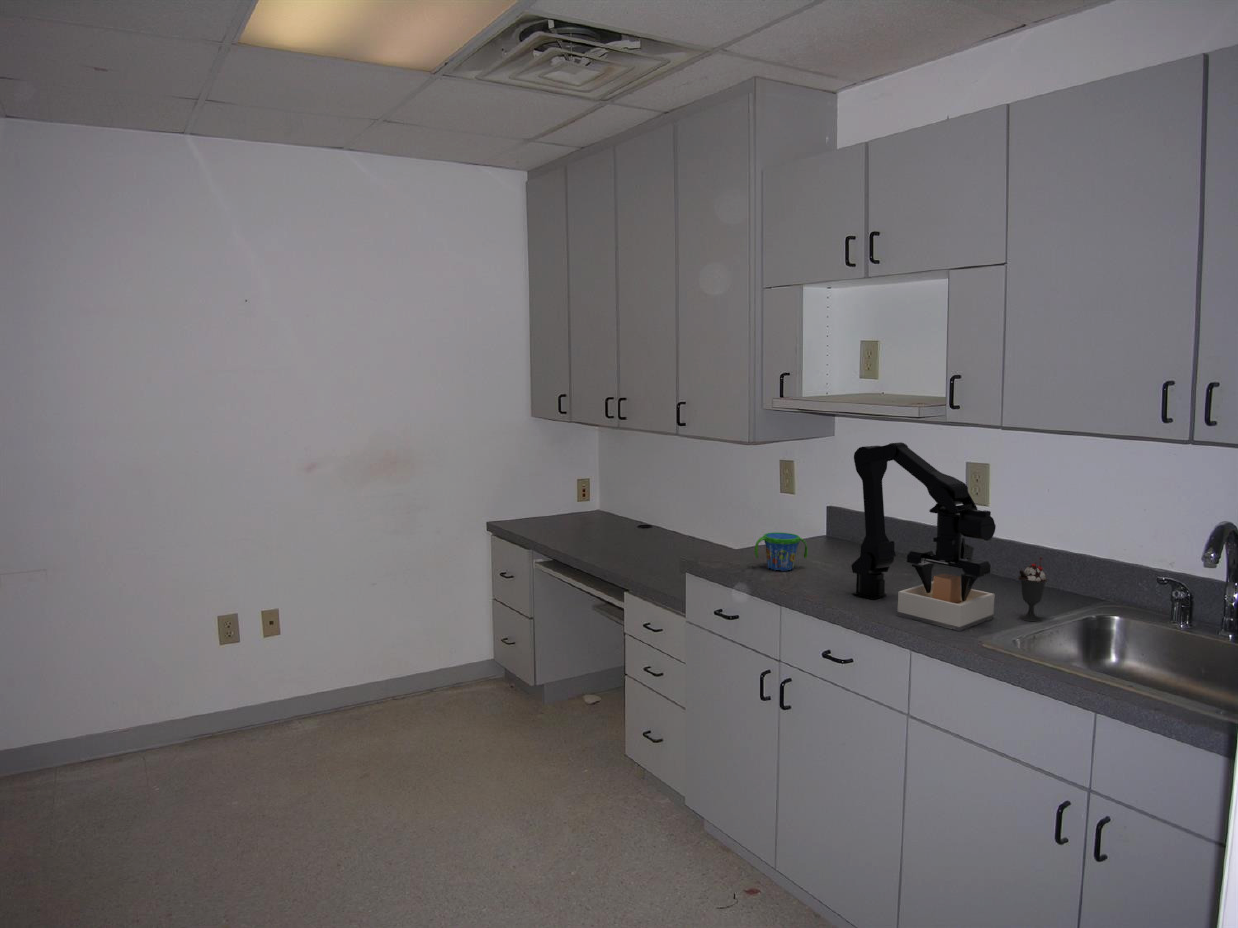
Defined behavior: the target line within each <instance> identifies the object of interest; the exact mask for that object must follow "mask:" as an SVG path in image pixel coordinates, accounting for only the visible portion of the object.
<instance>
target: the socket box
mask: <svg viewBox="0 0 1238 928" xmlns="http://www.w3.org/2000/svg"><path fill="white" fill-rule="evenodd" d="M995 596H996V595H995V593H991V592H987V591H983V590H978V589H972V588H971V590H970V592H969V595H968V597H967V599H966V601H962V596H961V586H960V603H958V604H956V603H952V602H947V601H943V600H938V599H934V598H933V581H932V580H931V592H930V593H927V592H926V590H925V587H924V585H923V583H922V584H918V585H916V586H913V587H909V588H906V589H903V590H902V589H901V590H900V591H899V590H898V594H897V597H898V598H897V600H898V601H897V613H896V614H897V615H900V616H899V617H901V616H903V617H902V618H905V619H909V620H913V619H915V620H914V621H917V620H918V621H917V622H921V621H922V622H921V623H925V624H929V625H933V624H934V625H933V626H937V627H940V626H941V628H945V629H948V630H952V629H954V630H953V631H957V632H962V631H964V630H966V629H968V628H972V627H974V626H977V625H979V624H981V623H984V621H985V622H987V621H990V620H992V619H994V613H995ZM989 619H990V620H989ZM986 620H987V621H986ZM976 624H977V625H976ZM973 625H974V626H973ZM971 626H972V627H971ZM963 629H964V630H963Z"/></svg>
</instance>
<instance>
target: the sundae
mask: <svg viewBox="0 0 1238 928" xmlns="http://www.w3.org/2000/svg"><path fill="white" fill-rule="evenodd" d="M1043 559H1044V558H1043V557H1039V559H1038V561H1039V563H1041V562H1042V560H1043ZM1038 561H1036V562H1035V563H1031V564H1030V566H1027V567H1026V568H1025V569H1024V570H1023V569H1020V570H1019V571H1018V572H1019V575H1018V576H1017V578H1018V580H1019V581H1020V584H1021V593H1022V594H1021V595H1022V599H1023V601H1024V602H1025V603H1026V604H1027V606H1028V609H1027V610H1028V611H1027V613H1026V614H1025V615H1024V614H1023V615H1020V616H1019V619H1020V620H1022V621H1024V622H1025V621H1026V622H1031V623H1032V622H1033V623H1037V622H1036V621H1040V622H1042V621H1041V619H1042V618H1041V617H1040V616H1037V615H1036V614H1035V610H1034V609H1035V605H1038V604H1039V603H1040V602H1041V601H1042V597H1043V594H1044V589H1045V585H1046V582H1048V581H1049V579H1048V578H1046V577H1047V576H1046V574H1045V572H1044V571H1043V567H1042V565H1041V564H1039V566H1037V564H1038Z"/></svg>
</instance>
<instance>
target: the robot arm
mask: <svg viewBox="0 0 1238 928" xmlns="http://www.w3.org/2000/svg"><path fill="white" fill-rule="evenodd" d="M890 461H891V462H892V461H894V462H895V463H896V464H898V466H900V467H901V468H903V469H904V470H906V471H907V472H908V473H909V474H910V475H911V476H913V477H914V478H915V479H917V480H918V481H919V482H920V483H921V484H923V485H924V486H925V488H926V489H927V493H928V495H929V496H930V497H931V498H932V499H933V500H934V501H935V502H936V504H935V505H934V506H933V507H931V508H930V509H929V512H930V513H932V514H937V515H936V516H937V517H936V518H937V519H936V535H935V536H933V541H932V542H934V543H935V553H934V552H933V551H932V550H929V549H923V548H917V549H913V550H910V551H909V552H908V553H907V557H906V562H907V563H909V564H911V567H913V568H914V569H915V570H916V572H917V574H918V576H919V578H920V580H921V583H922V584H923V585H924V587H925V590H926V592H927V593H930V592H931V582H932V575H933V574H932V571H933V568H934V566H935V564H938V565H942V566H949V567H953V568H957V569H962V571H963V574H960V577H961V584H960V587H961V596H962V601H966V599H967V597H968V595H969V592H970V590H971V589H972V588H973V585H974V584H975V582H976V581H977V579H979V578H981V577H984V575H987V574H990V573H991V567H992V566H991V564H990V563H989V561H988V560H984V559H977V558H973V555H974V551H975V547H974V546H971V545H969V544H966V538H972V539H977V540H980V541H990V540H991V539H992V538H993V536H994V534H995V533H996V523H995V520H994V518H993V517H992V516H991V511H990V510H981V509H978V507H977V505H976V503H975V502H974V500H973V498H972V496H971V494H970V493H969V487H968V485H967V484H966V483H965V482H963V481H962V480H960V479H958V478H956V477H954V476H951V475H948V474H945V473H943V472H940V471H939V470H938V469H936V468H935V467H934V466H933V465H931V464H930V463H929V462H928V461H926V460H925V459H924V458H922V457H921V456H920V455H919V454H917V453H916V452H914V450H912V449H910V447H908V445H907V444H906V443H904V442H902V441H901V442H891V443H888V444H886V445H868V446H866V445H865V446H860V447H859V448H857V449H856V451H855V452H854V454H853V462H854V467H855V471H856V473H857V474H858V476H859V477H860V479H861V481H862V495H863V496H862V497H863V510H864V511H863V512H864V513H863V514H864V528H865V536H864V538H863V541H862V543H861V545H860V551H859V552H860V554H859V557H858V558H857V559H856V560H855V561H854V562H852V564H850V566H851V567H850V568H851V571H852V573H853V574H856V579H855V580H856V586H855V591H853V592H852V593H851V594H852V595H853V596H856V597H860V598H866V599H870V600H877V599H880V598H882V597H885V596H887V593H886V592H885V587H886V580H885V579H884V575H885V573H888V572H889V570H890V569H889V568H890V566H892V565H893V563H894V559H895V557H896V556H897V555H896V551H895V545H896V543H895V541H894V540H889V538H888V536H887V535H886V525H885V523H886V522H885V507H884V505H885V504H884V491H883V489H884V488H883V478H884V476H885V474H886V472H887V469H888V462H890ZM965 537H966V538H965Z"/></svg>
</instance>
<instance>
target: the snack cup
mask: <svg viewBox="0 0 1238 928" xmlns="http://www.w3.org/2000/svg"><path fill="white" fill-rule="evenodd" d="M762 541H764V544H765V545H764V546H765V555H766V562H767V564H766V565H767V568H768V569H769V568H771V569H770V570H772V569H774V570H773V571H776V570H781V571H780V572H785V571H788V570H790V571H791V569H792V570H793V569H794V566H795V562H796V555H797V551H798V546H799V543H800V541H801V542H802V543H803V544H804V547H805V548H804V553H803V558H804V559H807V558H808V553H809V548H808V545H807V542H806V540H804V539H803V538H801V537H800V536H799V535H798V534H796V533H791V532H778V531H777V532H776V531H775V532H768V533H764V534H763V536H761V537H759V539H758V540H757V541H756V543H755V545H754V555H755V558H756V559H758V558H759V555H758V553H759V543H761V542H762Z"/></svg>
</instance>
